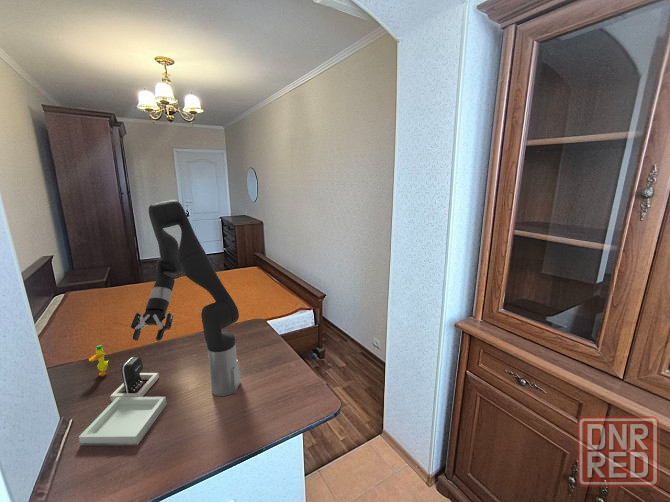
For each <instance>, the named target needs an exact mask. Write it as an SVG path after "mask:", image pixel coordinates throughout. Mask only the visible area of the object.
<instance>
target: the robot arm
mask: <svg viewBox="0 0 670 502" xmlns="http://www.w3.org/2000/svg"><path fill="white" fill-rule="evenodd" d="M148 215H149V219H150V223H151V227H152V229H153V233H154V235H155V237H156V240H157V243H158V250H159V258H158V259H157V261H156V278H155V282H154V285H153V288H152V290H151V292H150V295H149V298H148V299H147V300H148V301H147V304H146V306H145V312H144V313H142V314H141V313H139V312H136V313H135V315H134V317H133V320H132V323H131V325H130V328H131V329H133V330H134V331H133V335H132V339H133V341H135V342H137V341H139V339H140V335H141V333H142V330H143V329H144V328H146V327H148V326H158V328H159V329H158V331H157V334H156V338H155V340H156V341H158V342H160V341H161V340H162V339H163V337H164V333H165V332H166V331H167V330H171V328H172V324H173V320H174V319H173V318H174V315H173V314H172V313H171V312H168V308H169V304H170V301H171V299H172V292H173V290H174V289H173V288H174V286H175V282H176V280H175V279H174V277H173V276H169V275H167V274H173V275H179V274H181V273H182V272H183V273H184V275H185V277H187V278H188V279H189V280H190V281H192V282H193V283H194V284H196V285H198V286H199V287H201V288H203V289H204V290H206V291H207V292H208V294H210V296H211V297H212V298H213V300H214V301H215V302H213V303H209V304H207V305H205V306H203V308H202V309H201V314H200V315H201V316H200V317H201V323H202V329H203V334H204V335H203V336H204V340H205V343H206V346H207V354H208V355H207V357H208V365H209V366H208V367H209V368H208V369H209V376H210V377H209V378H210V385H211V386H210V387H211V393H212V395H214V396H216V397H225V396H227V397H228V396H229V395H232V394H236V393H237V391H238V389H239V387H240V385H241V373H240V360H238V359H237V348H236V347H237V346H236V336H235V335H234V334H233V333H231V332H228V331H222V329H224V328H226V327H229V326H231V325H233V324H235V323H237V322H238V320H239V317H240V314H239V309H238V306H237V305H236V303H235V301H234V299H233V298H232V296H231V294H230V293H229V292H228V290H227V289H226V287H225V286H224V284H223V283H222V281H221V279H220V277H219V276H218V274H217V272H216V271H215V269H214V267H213V265H212V262H211V260H210V259H209V257H208V255H207V253H206V251H205V249H204V248H203V246H202V244H201V243H200V241H199V239H198V237H197V235H196V233H195V230H194V229H193V227H192V225H191V222H190V220H189V218H188V215H187V213H186V211H185V209H184V207H183V205H182V203H181V202H180V201H179V200H177V199H169V200H166V201H165V200H164V201H160V202H155V203H151V204H150V205H149V206H148ZM174 226H178V227H179V228H180V231H181V236H180V242H178V241H177V239H176V238H175V237H174V236H173V235H171V234H170V233H168V231H166V230H164V229H167V228H170V227H174ZM165 273H166V274H165ZM167 312H168V313H167ZM166 313H167V314H166ZM165 319H166V320H165ZM164 320H165V324H164V322H163V321H164Z"/></svg>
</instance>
